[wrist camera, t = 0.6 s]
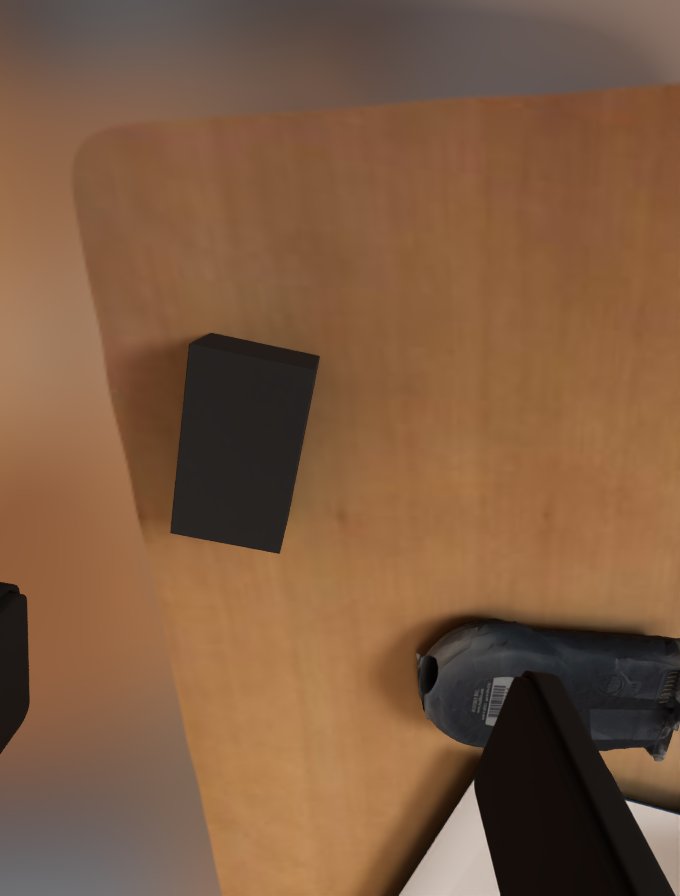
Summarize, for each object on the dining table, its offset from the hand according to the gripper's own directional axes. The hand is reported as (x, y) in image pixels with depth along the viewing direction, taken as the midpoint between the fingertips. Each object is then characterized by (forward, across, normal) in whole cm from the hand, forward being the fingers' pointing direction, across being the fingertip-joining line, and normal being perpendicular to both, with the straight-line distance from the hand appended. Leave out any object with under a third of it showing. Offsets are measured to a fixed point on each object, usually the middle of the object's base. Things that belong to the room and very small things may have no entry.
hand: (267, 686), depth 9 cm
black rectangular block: (+17, +3, +1) cm, 18 cm away
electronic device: (+18, -17, +14) cm, 28 cm away
